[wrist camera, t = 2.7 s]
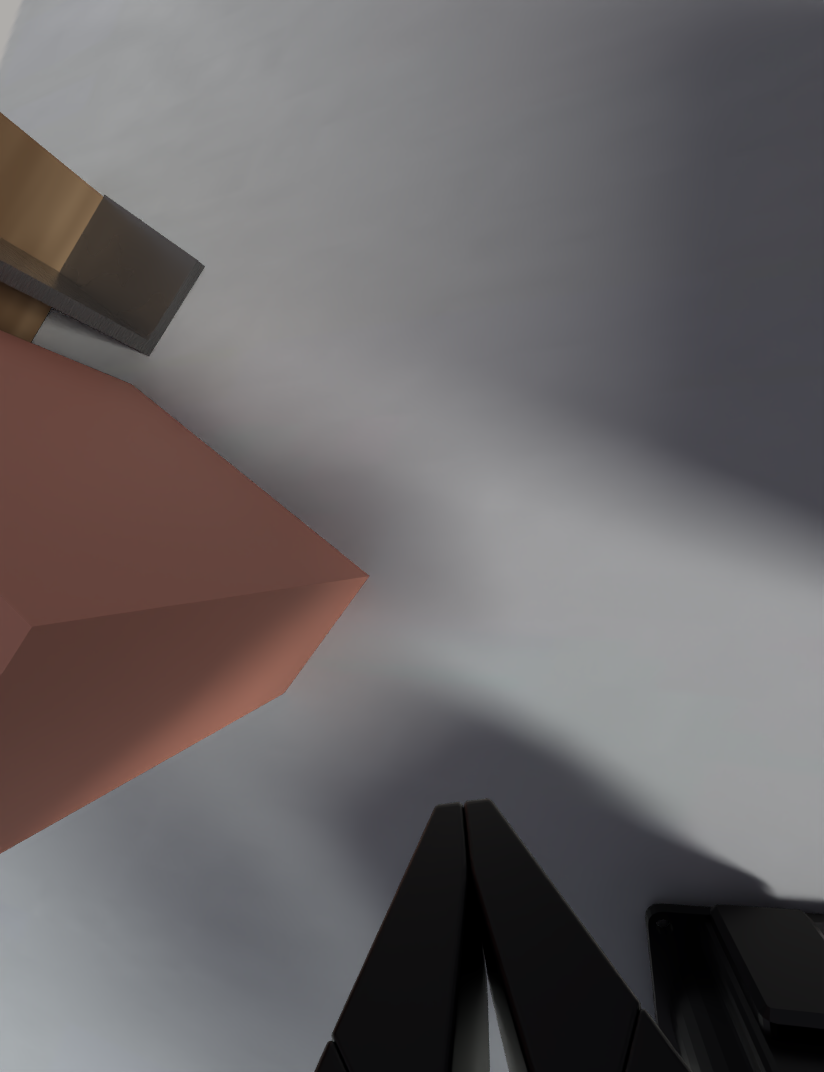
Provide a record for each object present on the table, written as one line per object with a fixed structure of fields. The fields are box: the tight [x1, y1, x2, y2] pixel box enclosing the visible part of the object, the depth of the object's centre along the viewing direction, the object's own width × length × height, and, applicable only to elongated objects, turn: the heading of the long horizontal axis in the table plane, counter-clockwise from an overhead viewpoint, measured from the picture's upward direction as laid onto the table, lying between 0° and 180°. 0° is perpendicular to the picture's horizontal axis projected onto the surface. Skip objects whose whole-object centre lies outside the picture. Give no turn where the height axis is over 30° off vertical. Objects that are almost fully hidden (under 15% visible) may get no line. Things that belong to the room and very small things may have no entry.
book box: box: [0, 330, 369, 854], centre depth 15 cm, size 14×6×14 cm, turn 53°
